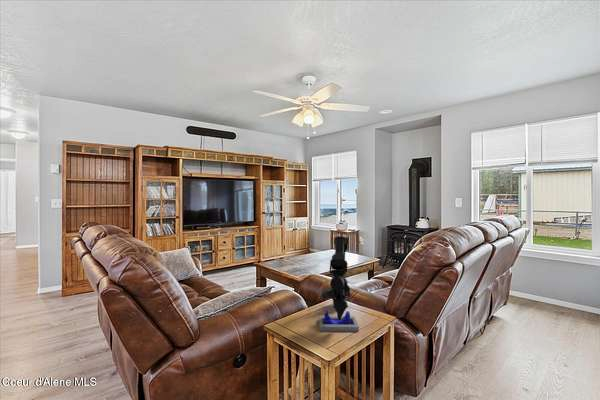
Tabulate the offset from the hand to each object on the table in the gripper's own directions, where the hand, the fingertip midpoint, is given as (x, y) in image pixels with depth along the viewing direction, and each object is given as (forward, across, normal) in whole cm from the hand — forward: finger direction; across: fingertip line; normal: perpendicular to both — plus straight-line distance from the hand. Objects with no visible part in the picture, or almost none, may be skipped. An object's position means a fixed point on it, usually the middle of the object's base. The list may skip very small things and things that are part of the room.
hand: (338, 315), depth 142 cm
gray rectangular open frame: (+5, 0, 0) cm, 5 cm away
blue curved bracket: (+5, -1, 0) cm, 5 cm away
